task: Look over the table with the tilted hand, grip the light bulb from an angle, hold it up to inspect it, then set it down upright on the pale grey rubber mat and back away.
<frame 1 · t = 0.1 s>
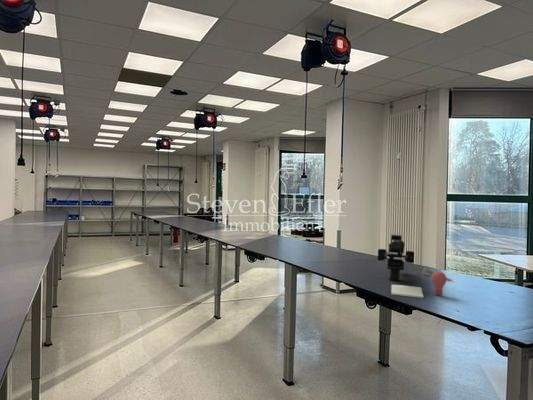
hand: (395, 258, 206), 17 cm above the table, tool horizontal, fingers open, 9 cm apart
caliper: (437, 279, 238), on the table
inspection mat: (406, 291, 203), on the table
light bulb: (438, 295, 198), on the table
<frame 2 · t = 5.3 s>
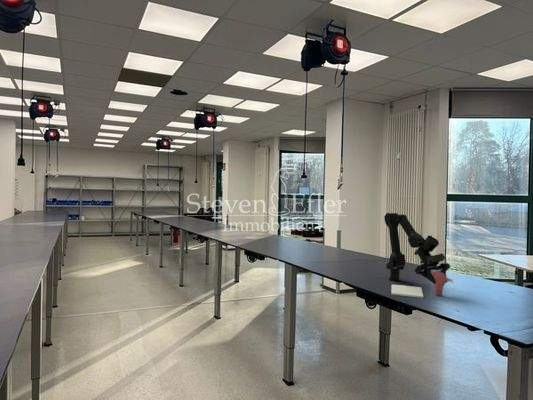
hand: (440, 282, 197), 7 cm above the table, tool tilted 45°, fingers closed on light bulb, 7 cm apart
light bulb: (438, 295, 198), on the table, touching gripper
everything else where it was.
when the fingers open (9 cm above the table, at t = 10.3 s): light bulb drops 1 cm, resting on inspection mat.
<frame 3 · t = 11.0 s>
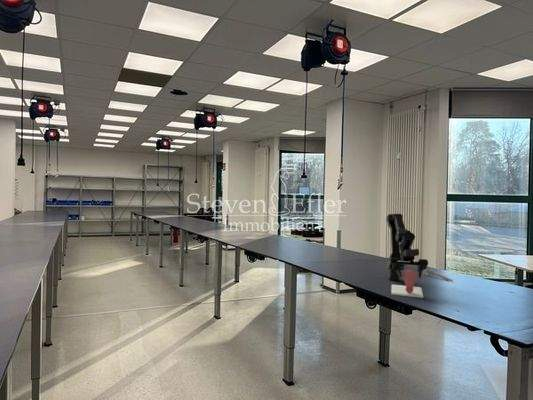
hand: (410, 277, 196), 9 cm above the table, tool tilted 45°, fingers open, 9 cm apart
light bulb: (409, 293, 198), point 1 cm above the table, touching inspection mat
everything else where it was.
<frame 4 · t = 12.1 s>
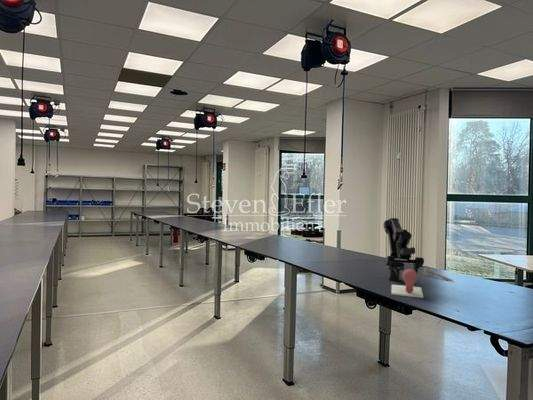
hand: (406, 275, 203), 9 cm above the table, tool tilted 45°, fingers open, 9 cm apart
nothing on the table moved.
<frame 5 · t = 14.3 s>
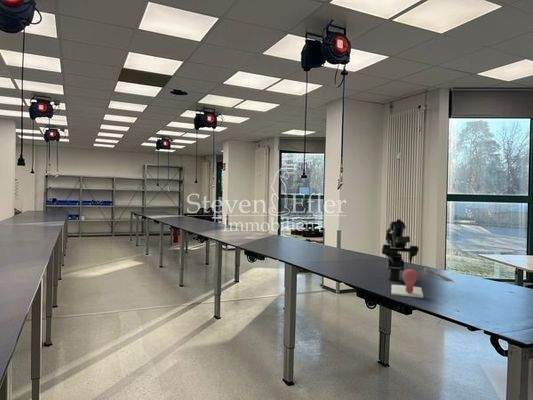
hand: (401, 262, 211), 14 cm above the table, tool tilted 45°, fingers open, 9 cm apart
nothing on the table moved.
at the end: light bulb inside the target area on the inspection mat (1.6 cm from its centre), point 0.6 cm above the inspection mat's base; light bulb tilted 0°; the gripper is holding nothing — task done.
